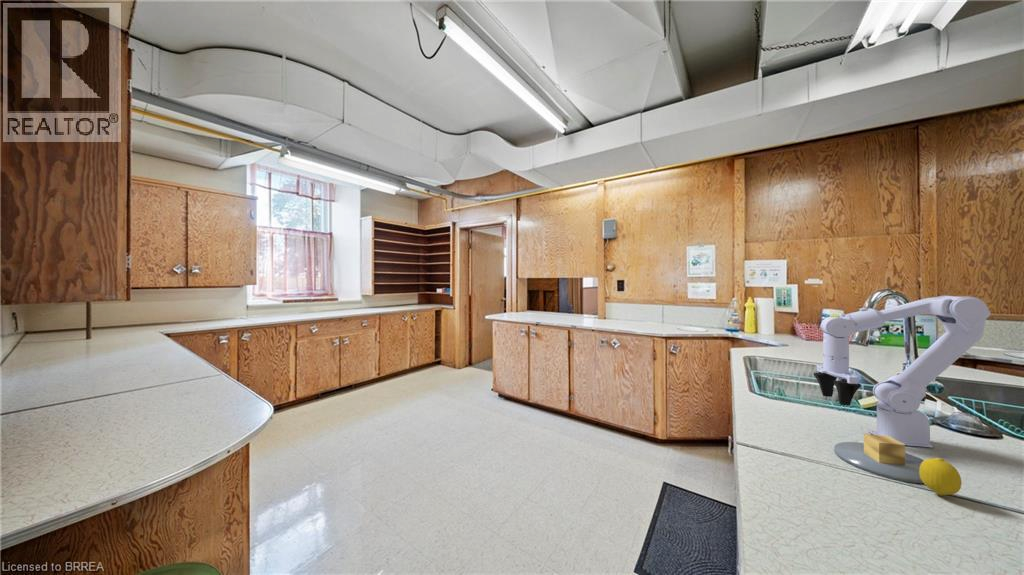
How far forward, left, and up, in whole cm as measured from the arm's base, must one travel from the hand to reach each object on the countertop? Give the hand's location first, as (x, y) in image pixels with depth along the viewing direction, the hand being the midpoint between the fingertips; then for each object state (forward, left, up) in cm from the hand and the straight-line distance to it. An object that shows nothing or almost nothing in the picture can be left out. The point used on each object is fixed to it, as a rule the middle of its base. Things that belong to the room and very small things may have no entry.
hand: (835, 400), depth 101 cm
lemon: (0, +32, -10) cm, 33 cm away
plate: (+1, +19, -9) cm, 21 cm away
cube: (+1, +19, -8) cm, 21 cm away
